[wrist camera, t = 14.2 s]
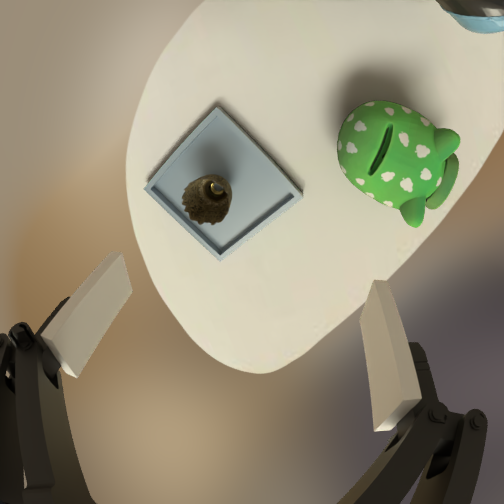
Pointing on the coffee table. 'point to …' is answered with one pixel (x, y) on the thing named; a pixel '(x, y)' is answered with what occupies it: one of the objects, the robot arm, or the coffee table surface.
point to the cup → (207, 199)
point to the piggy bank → (398, 158)
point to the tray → (238, 176)
